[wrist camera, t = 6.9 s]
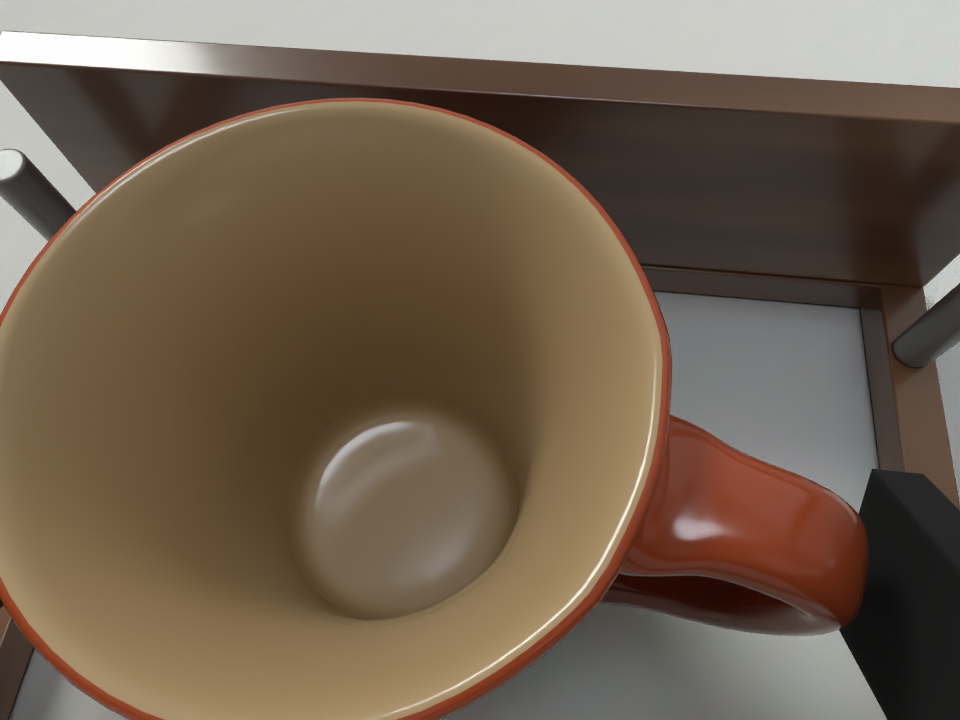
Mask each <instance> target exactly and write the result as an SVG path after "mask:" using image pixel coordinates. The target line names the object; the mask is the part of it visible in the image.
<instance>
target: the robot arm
mask: <svg viewBox="0 0 960 720" xmlns="http://www.w3.org/2000/svg"><path fill="white" fill-rule="evenodd" d="M859 515H860V517H861V519H862V521H863V524H864V526H865V529H866V533H867V538H868V545H869V563H868V572H867V580H866V587H865V593H864V598H863V602H862V606H861V608H860V610H859V612H858V615H857V616H856V617H855V618H854V619H853V620H852V621H851V622H850V623H849V624H848V625H847V626H846V627H845V628H843V629H840V630H839V631H840V632H841V634H842V636H843V638H844V640H845V642H846V644H847V645H848V647H849V649H850V651H851V653H852V655H853V657H854V658H855V660H856V662H857V664H858V666H859V668H860V669H861V671H862V673H863V675H864V677H865V679H866V681H867V682H868V684H869V686H870V688H871V690H872V692H873V694H874V695H875V697H876V699H877V701H878V703H879V705H880V707H881V708H882V710H883V712H884V714H885V716H886V718H887V720H960V510H959V509H958V508H957V507H956V506H955V505H954V504H953V503H952V502H951V501H950V500H949V499H948V498H947V497H946V496H945V495H944V494H943V493H942V492H941V491H940V490H939V489H938V488H937V487H936V486H935V485H934V484H933V483H932V482H931V481H930V480H929V479H928V478H927V477H926V476H925V475H924V474H920V473H910V472H899V471H889V470H879V469H872V471H871V474H870V477H869V481H868V484H867V488H866V491H865V494H864V498H863V501H862V505H861V508H860V511H859ZM3 606H4V605H3V604H2V602H1V600H0V608H2V607H3Z"/></svg>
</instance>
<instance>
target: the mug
mask: <svg viewBox="0 0 960 720" xmlns="http://www.w3.org/2000/svg"><path fill="white" fill-rule="evenodd" d="M671 381H672V357H671V348H670V339H669V335H668V331H667V328H666V324H665V321H664V318H663V316H662V313H661V310H660V307H659V305H658V302H657V300H656V297H655V295H654V293H653V290H652V288H651V286H650V283H649V281H648V279H647V277H646V275H645V273H644V271H643V269H642V267H641V265H640V263H639V261H638V259H637V257H636V255H635V253H634V252H633V250H632V248H631V247H630V245H629V243H628V242H627V240H626V239H625V237H624V235H623V234H622V232H621V230H620V229H619V228H618V226H617V225H616V224H615V222H614V221H613V220H612V218H611V217H610V216H609V214H608V213H607V212H606V211H605V209H604V208H603V207H602V206H601V205H600V203H599V202H598V201H597V200H596V199H595V198H594V197H593V196H592V195H591V194H590V193H589V192H588V191H587V189H586V188H585V187H584V186H583V185H581V184H580V183H579V182H578V181H577V180H576V179H575V178H574V177H572V176H571V175H570V174H569V173H568V172H567V171H566V170H565V169H563V168H562V167H561V166H559V165H558V164H557V163H555V162H554V161H553V160H551V159H550V158H548V157H547V156H546V155H544V154H543V153H542V152H540V151H538V150H537V149H535V148H533V147H532V146H530V145H528V144H527V143H525V142H523V141H522V140H520V139H518V138H517V137H515V136H512V135H510V134H508V133H506V132H504V131H502V130H500V129H498V128H496V127H494V126H492V125H489V124H487V123H484V122H481V121H479V120H476V119H474V118H471V117H469V116H466V115H462V114H459V113H455V112H452V111H449V110H445V109H442V108H437V107H433V106H428V105H423V104H418V103H413V102H405V101H397V100H389V99H374V98H331V99H321V100H310V101H302V102H296V103H290V104H284V105H278V106H273V107H269V108H265V109H261V110H257V111H253V112H249V113H246V114H243V115H240V116H236V117H233V118H230V119H227V120H224V121H221V122H218V123H216V124H213V125H211V126H209V127H206V128H204V129H201V130H199V131H196V132H194V133H192V134H190V135H188V136H186V137H183V138H181V139H179V140H177V141H175V142H173V143H171V144H169V145H167V146H165V147H164V148H162V149H160V150H159V151H157V152H155V153H153V154H152V155H150V156H148V157H147V158H145V159H143V160H141V161H140V162H138V163H137V164H136V165H134V166H133V167H131V168H130V169H128V170H127V171H125V172H124V173H122V174H121V175H120V176H118V177H117V178H115V179H114V180H113V181H112V182H110V183H109V184H108V185H107V186H105V187H104V188H103V189H102V190H100V191H99V192H98V193H97V194H95V195H94V196H93V197H92V198H91V199H90V200H89V201H88V202H86V203H85V204H84V205H83V206H82V207H81V208H80V209H79V210H78V211H77V212H76V213H75V214H74V215H73V216H71V217H70V218H69V220H68V221H67V222H66V223H65V224H64V225H63V226H62V227H61V228H60V229H59V230H58V232H57V233H56V234H55V235H54V236H53V237H52V238H51V239H50V240H49V242H48V243H47V244H46V245H45V247H44V248H43V249H42V251H41V252H40V253H39V254H38V256H37V257H36V258H35V260H34V261H33V262H32V263H31V265H30V266H29V268H28V269H27V271H26V272H25V274H24V275H23V277H22V278H21V280H20V282H19V283H18V285H17V286H16V288H15V289H14V291H13V293H12V294H11V296H10V298H9V300H8V302H7V304H6V306H5V307H4V309H3V311H2V313H1V315H0V600H1V602H2V604H3V605H4V607H5V608H6V610H7V611H8V613H9V614H10V616H11V617H12V619H13V620H14V622H15V623H16V625H17V626H18V628H19V629H20V631H21V632H22V634H23V635H24V636H25V637H26V638H27V640H28V641H29V642H30V643H31V644H32V645H33V646H34V648H35V649H36V650H37V651H38V652H39V653H40V655H41V656H42V657H43V658H44V659H45V660H46V661H47V662H48V663H49V664H50V665H51V666H52V667H53V668H55V669H56V670H57V671H58V672H59V673H60V674H61V675H62V676H63V677H65V678H66V679H67V680H68V681H69V682H70V683H71V684H72V685H74V686H75V687H76V688H78V689H79V690H81V691H82V692H84V693H85V694H87V695H88V696H90V697H91V698H92V699H94V700H95V701H97V702H98V703H100V704H101V705H103V706H104V707H106V708H108V709H110V710H112V711H114V712H115V713H117V714H119V715H121V716H123V717H125V718H127V719H129V720H440V719H442V718H444V717H446V716H448V715H450V714H452V713H455V712H457V711H459V710H461V709H463V708H465V707H467V706H469V705H471V704H472V703H474V702H476V701H477V700H479V699H481V698H482V697H484V696H486V695H487V694H489V693H491V692H492V691H494V690H496V689H497V688H499V687H501V686H502V685H504V684H505V683H507V682H508V681H509V680H511V679H512V678H514V677H515V676H517V675H518V674H519V673H521V672H522V671H524V670H525V669H526V668H528V667H529V666H531V665H532V664H533V663H535V662H536V661H537V660H538V659H540V658H541V657H542V656H543V655H545V654H546V653H547V652H548V651H549V650H551V649H552V648H553V647H554V646H556V645H557V644H558V643H559V642H560V641H562V640H563V639H564V638H565V637H566V636H567V635H568V634H569V633H570V632H571V631H572V630H573V629H575V628H576V627H577V626H578V625H579V624H580V623H581V622H582V621H583V620H584V619H585V618H586V617H587V616H588V615H589V614H590V613H591V612H592V610H593V609H594V608H595V607H596V606H597V605H612V606H626V607H633V608H639V609H645V610H649V611H654V612H658V613H662V614H666V615H670V616H674V617H678V618H681V619H685V620H689V621H694V622H698V623H702V624H706V625H711V626H715V627H720V628H725V629H731V630H736V631H743V632H749V633H758V634H767V635H780V636H812V635H821V634H826V633H830V632H833V631H837V630H840V629H843V628H845V627H846V626H847V625H848V624H849V623H850V622H851V621H852V620H853V619H854V618H855V617H856V616H857V615H858V612H859V610H860V608H861V606H862V602H863V598H864V593H865V587H866V580H867V572H868V563H869V545H868V538H867V533H866V529H865V526H864V524H863V521H862V519H861V517H860V515H859V514H858V513H857V512H856V511H855V510H854V509H853V508H852V507H851V506H850V505H849V504H848V503H847V502H846V501H845V500H843V499H842V498H841V497H839V496H838V495H836V494H835V493H834V492H832V491H831V490H829V489H827V488H825V487H823V486H821V485H819V484H817V483H816V482H814V481H811V480H809V479H807V478H804V477H802V476H800V475H798V474H795V473H793V472H790V471H787V470H785V469H782V468H780V467H777V466H774V465H772V464H769V463H767V462H764V461H761V460H759V459H756V458H754V457H752V456H749V455H747V454H744V453H742V452H740V451H739V450H737V449H735V448H733V447H731V446H729V445H728V444H726V443H724V442H723V441H721V440H720V439H718V438H716V437H715V436H713V435H712V434H710V433H709V432H707V431H706V430H704V429H702V428H700V427H698V426H696V425H694V424H692V423H690V422H688V421H685V420H683V419H680V418H678V417H675V416H672V415H670V404H671Z"/></svg>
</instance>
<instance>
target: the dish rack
mask: <svg viewBox="0 0 960 720" xmlns="http://www.w3.org/2000/svg"><path fill="white" fill-rule="evenodd" d="M0 80H1V81H2V82H3V84H4V85H5V86H6V87H7V88H8V90H9V91H10V92H11V93H12V94H13V96H14V97H15V98H16V99H17V100H18V101H19V103H20V104H21V105H22V106H23V107H24V109H25V110H26V111H27V112H28V113H29V115H30V116H31V117H32V118H33V119H34V120H35V122H36V123H37V124H38V125H39V126H40V128H41V129H42V130H43V131H44V132H45V134H46V135H47V136H48V137H49V138H50V139H51V141H52V142H53V143H54V144H55V145H56V147H57V148H58V149H59V150H60V151H61V153H62V154H63V155H64V156H65V157H66V158H67V160H68V161H69V162H70V163H71V164H72V166H73V167H74V168H75V169H76V170H77V172H78V173H79V174H80V175H81V176H82V177H83V179H84V180H85V181H86V182H87V183H88V185H89V186H90V187H91V188H92V189H93V191H94V192H95V193H96V194H97V193H98V192H99V191H100V190H102V189H103V188H104V187H105V186H107V185H108V184H109V183H110V182H112V181H113V180H114V179H115V178H117V177H118V176H120V175H121V174H122V173H124V172H125V171H127V170H128V169H130V168H131V167H133V166H134V165H136V164H137V163H138V162H140V161H141V160H143V159H145V158H147V157H148V156H150V155H152V154H153V153H155V152H157V151H159V150H160V149H162V148H164V147H165V146H167V145H169V144H171V143H173V142H175V141H177V140H179V139H181V138H183V137H186V136H188V135H190V134H192V133H194V132H196V131H199V130H201V129H204V128H206V127H209V126H211V125H213V124H216V123H218V122H221V121H224V120H227V119H230V118H233V117H236V116H240V115H243V114H246V113H249V112H253V111H257V110H261V109H265V108H269V107H273V106H278V105H284V104H290V103H296V102H302V101H310V100H321V99H331V98H374V99H389V100H397V101H405V102H413V103H418V104H423V105H428V106H433V107H437V108H442V109H445V110H449V111H452V112H455V113H459V114H462V115H466V116H469V117H471V118H474V119H476V120H479V121H481V122H484V123H487V124H489V125H492V126H494V127H496V128H498V129H500V130H502V131H504V132H506V133H508V134H510V135H512V136H515V137H517V138H518V139H520V140H522V141H523V142H525V143H527V144H528V145H530V146H532V147H533V148H535V149H537V150H538V151H540V152H542V153H543V154H544V155H546V156H547V157H548V158H550V159H551V160H553V161H554V162H555V163H557V164H558V165H559V166H561V167H562V168H563V169H565V170H566V171H567V172H568V173H569V174H570V175H571V176H572V177H574V178H575V179H576V180H577V181H578V182H579V183H580V184H581V185H583V186H584V187H585V188H586V189H587V191H588V192H589V193H590V194H591V195H592V196H593V197H594V198H595V199H596V200H597V201H598V202H599V203H600V205H601V206H602V207H603V208H604V209H605V211H606V212H607V213H608V214H609V216H610V217H611V218H612V220H613V221H614V222H615V224H616V225H617V226H618V228H619V229H620V230H621V232H622V234H623V235H624V237H625V239H626V240H627V242H628V243H629V245H630V247H631V248H632V250H633V252H634V253H635V255H636V257H637V259H638V261H639V263H640V265H641V267H642V269H643V271H644V273H645V275H646V277H647V279H648V281H649V283H650V286H651V288H652V290H657V291H669V292H681V293H693V294H705V295H717V296H729V297H741V298H753V299H765V300H777V301H788V302H800V303H812V304H824V305H836V306H848V307H860V309H861V318H862V326H863V334H864V342H865V350H866V358H867V366H868V374H869V382H870V390H871V398H872V406H873V415H874V423H875V431H876V439H877V447H878V455H879V463H880V470H889V471H899V472H910V473H920V474H924V475H925V476H926V477H927V478H928V479H929V480H930V481H931V482H932V483H933V484H934V485H935V486H936V487H937V488H938V489H939V490H940V491H941V492H942V493H943V494H944V495H945V496H946V497H947V498H948V499H949V500H950V501H951V502H952V503H953V504H954V505H955V506H956V507H957V508H958V509H959V510H960V504H959V498H958V492H957V486H956V480H955V474H954V468H953V462H952V456H951V451H950V445H949V439H948V433H947V427H946V421H945V415H944V409H943V403H942V397H941V391H940V385H939V379H938V373H937V367H936V361H935V359H936V358H938V357H939V356H940V355H942V354H943V353H944V352H946V351H947V350H949V349H950V348H951V347H953V346H954V345H955V344H957V343H958V342H959V341H960V283H959V284H958V285H957V286H956V287H955V288H954V289H952V290H951V291H950V292H949V293H948V294H947V295H946V296H944V297H943V298H942V299H941V300H940V301H939V302H937V303H936V304H935V305H934V306H933V307H932V308H930V309H929V310H928V311H927V308H926V302H925V296H924V290H923V286H925V285H926V284H928V283H929V282H930V281H931V280H932V279H933V278H934V277H935V276H936V275H937V274H938V273H939V272H940V271H942V270H943V269H944V268H945V267H946V266H947V265H948V264H949V263H950V262H951V261H952V260H953V259H954V258H956V257H957V256H958V255H959V254H960V88H948V87H931V86H915V85H898V84H881V83H865V82H848V81H832V80H815V79H798V78H782V77H765V76H748V75H732V74H715V73H698V72H682V71H665V70H649V69H632V68H615V67H599V66H582V65H565V64H549V63H532V62H516V61H499V60H482V59H466V58H449V57H432V56H416V55H399V54H383V53H366V52H349V51H333V50H316V49H299V48H283V47H266V46H250V45H233V44H216V43H200V42H183V41H166V40H150V39H133V38H117V37H100V36H83V35H67V34H50V33H33V32H17V31H2V32H1V33H0ZM0 196H1V197H2V198H3V199H4V200H6V201H7V202H8V203H9V204H10V205H11V206H12V207H13V208H14V209H15V210H16V211H17V212H18V213H19V214H20V215H21V216H22V217H23V218H24V219H25V220H26V221H27V222H29V223H30V224H31V225H32V226H33V227H34V228H35V229H36V230H37V231H38V232H39V233H40V234H41V235H42V236H43V237H44V238H45V239H46V240H47V241H48V242H49V240H50V239H51V238H52V237H53V236H54V235H55V234H56V233H57V232H58V230H59V229H60V228H61V227H62V226H63V225H64V224H65V223H66V222H67V221H68V220H69V218H70V217H71V216H73V215H74V214H75V213H76V212H77V211H76V210H75V209H74V208H73V207H72V206H71V205H70V204H69V202H68V201H67V200H66V199H65V198H64V197H63V196H62V195H61V194H60V193H59V192H58V190H57V189H56V188H55V187H54V186H53V185H52V184H51V183H50V182H49V181H48V180H47V178H46V177H45V176H44V175H43V174H42V173H41V172H40V171H39V170H38V169H37V168H36V166H35V165H34V164H33V163H32V162H31V161H30V160H29V159H28V158H27V157H26V156H25V154H23V153H22V152H20V151H18V150H15V149H4V150H0ZM32 649H33V645H32V644H31V643H30V642H29V641H28V640H27V638H26V637H25V636H24V635H23V634H22V632H21V631H20V629H19V628H18V626H17V625H16V623H15V622H14V620H13V619H12V617H11V616H10V614H9V613H8V611H7V610H6V608H5V607H4V606H3V607H2V608H0V720H8V717H9V714H10V711H11V708H12V706H13V703H14V700H15V697H16V694H17V691H18V689H19V686H20V683H21V680H22V677H23V674H24V671H25V669H26V666H27V663H28V660H29V657H30V654H31V652H32Z"/></svg>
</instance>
